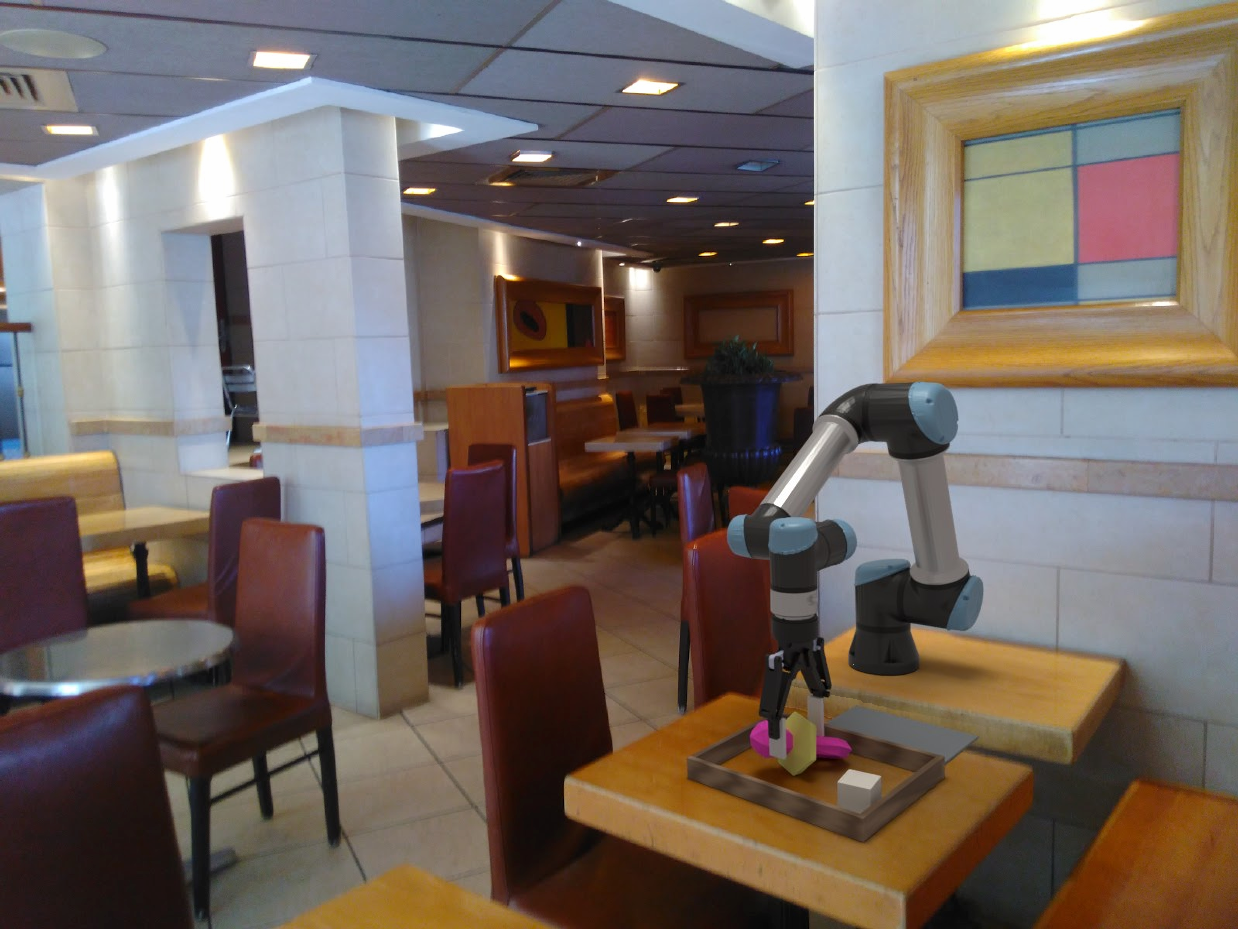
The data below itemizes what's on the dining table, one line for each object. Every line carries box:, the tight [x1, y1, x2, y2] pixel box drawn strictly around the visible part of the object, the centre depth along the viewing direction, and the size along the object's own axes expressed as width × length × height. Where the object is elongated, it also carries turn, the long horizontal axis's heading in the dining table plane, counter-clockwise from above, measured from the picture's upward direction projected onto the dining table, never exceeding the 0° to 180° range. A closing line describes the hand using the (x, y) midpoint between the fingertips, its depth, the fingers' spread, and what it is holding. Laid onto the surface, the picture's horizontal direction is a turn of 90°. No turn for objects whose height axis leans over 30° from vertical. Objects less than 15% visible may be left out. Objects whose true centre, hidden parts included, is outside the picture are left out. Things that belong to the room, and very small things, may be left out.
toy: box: [750, 711, 852, 777], centre depth 150 cm, size 10×18×10 cm, turn 107°
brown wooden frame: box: [686, 710, 946, 843], centre depth 146 cm, size 32×26×4 cm
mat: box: [824, 704, 980, 765], centre depth 161 cm, size 24×18×1 cm
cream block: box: [836, 768, 883, 814], centre depth 135 cm, size 5×5×5 cm
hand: (797, 745), depth 148 cm, fingers closed on toy, 10 cm apart
